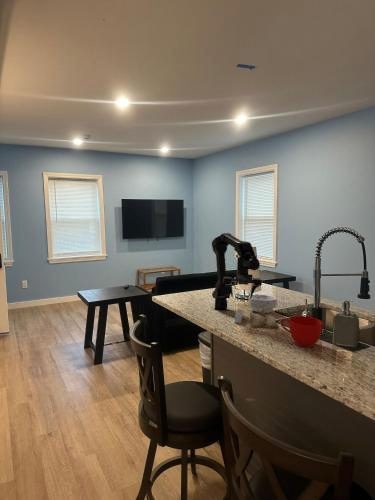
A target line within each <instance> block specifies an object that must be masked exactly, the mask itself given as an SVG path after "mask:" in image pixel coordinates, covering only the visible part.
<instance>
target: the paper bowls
mask: <svg viewBox="0 0 375 500" xmlns="http://www.w3.org/2000/svg"><path fill="white" fill-rule="evenodd" d="M277 302H278V299H277V298H276V297H275V296H272V295H266V294H253V295H252V298H251V299H250V295H249V296H248V306H249V307H251V309H252V311H253V312H254V313H255V312H256V313H257V314H260V309H264V314H269V313H271V312H273V310H274V309H277Z"/></svg>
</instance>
